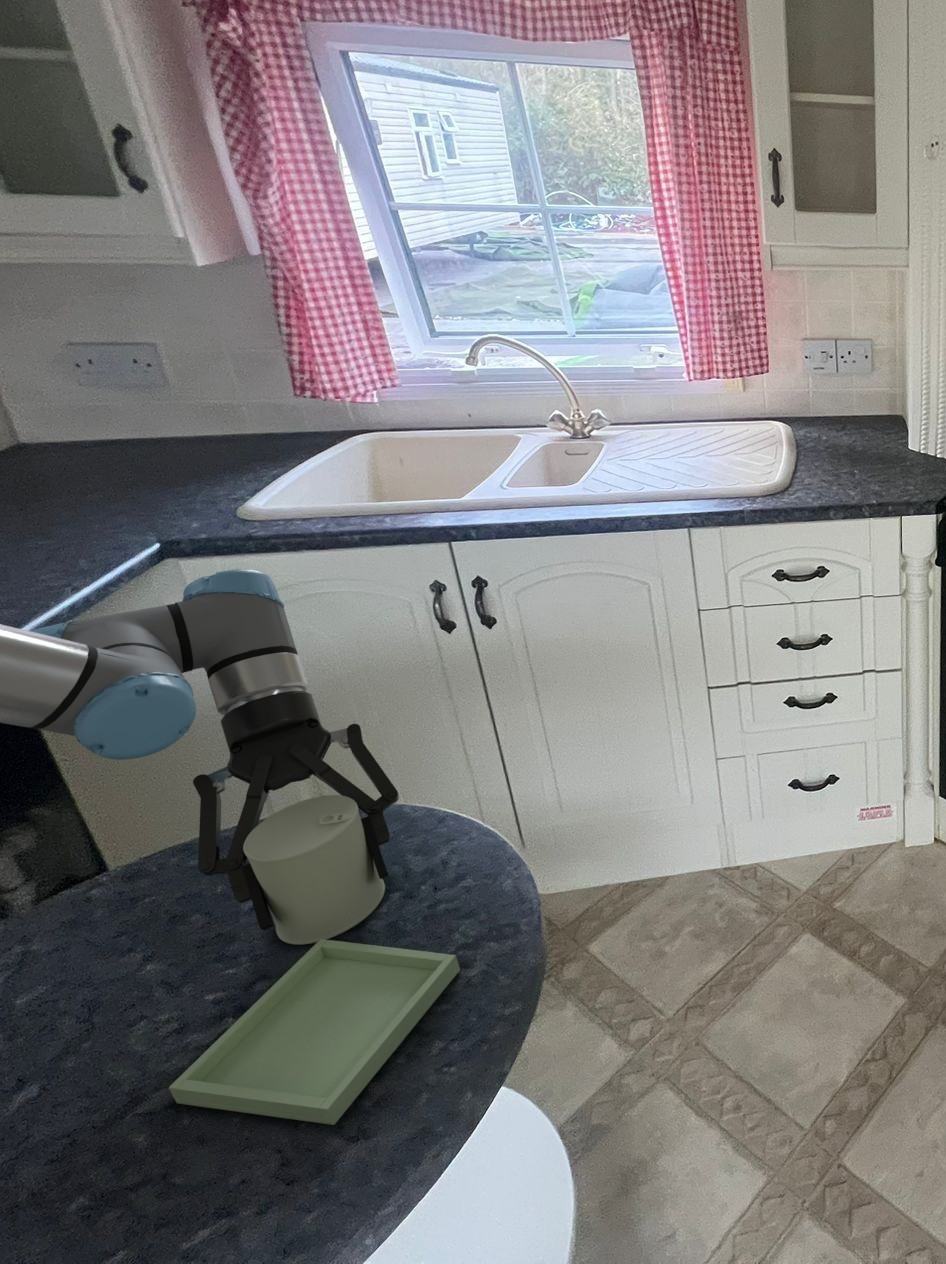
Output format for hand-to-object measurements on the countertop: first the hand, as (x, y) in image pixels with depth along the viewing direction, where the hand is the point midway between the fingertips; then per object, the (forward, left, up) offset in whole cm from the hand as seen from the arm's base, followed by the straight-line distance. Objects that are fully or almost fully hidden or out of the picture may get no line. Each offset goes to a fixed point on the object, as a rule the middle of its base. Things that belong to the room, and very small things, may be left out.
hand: (327, 900), depth 85 cm
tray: (+13, -4, -4) cm, 14 cm away
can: (-3, +1, -4) cm, 5 cm away
